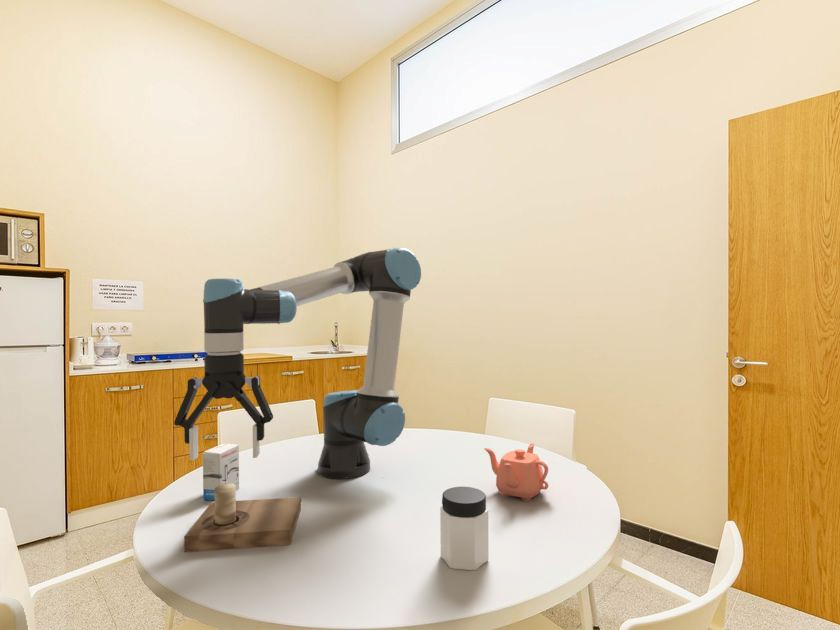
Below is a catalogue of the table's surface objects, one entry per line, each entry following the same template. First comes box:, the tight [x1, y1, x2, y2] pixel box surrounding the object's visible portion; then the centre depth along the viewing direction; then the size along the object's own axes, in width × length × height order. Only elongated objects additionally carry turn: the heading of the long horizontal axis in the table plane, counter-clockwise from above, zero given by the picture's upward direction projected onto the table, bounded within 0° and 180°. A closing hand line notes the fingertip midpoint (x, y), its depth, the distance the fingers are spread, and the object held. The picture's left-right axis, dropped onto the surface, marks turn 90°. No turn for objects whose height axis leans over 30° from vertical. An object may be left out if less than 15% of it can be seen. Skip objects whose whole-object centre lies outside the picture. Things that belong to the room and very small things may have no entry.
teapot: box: [483, 443, 549, 502], centre depth 115 cm, size 14×14×11 cm
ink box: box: [202, 443, 240, 501], centre depth 116 cm, size 9×5×12 cm, turn 168°
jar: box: [439, 486, 490, 571], centre depth 85 cm, size 9×8×12 cm
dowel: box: [214, 483, 237, 526], centre depth 94 cm, size 4×4×10 cm
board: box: [183, 496, 302, 553], centre depth 97 cm, size 20×16×3 cm
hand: (225, 457), depth 94 cm, fingers open, 12 cm apart
